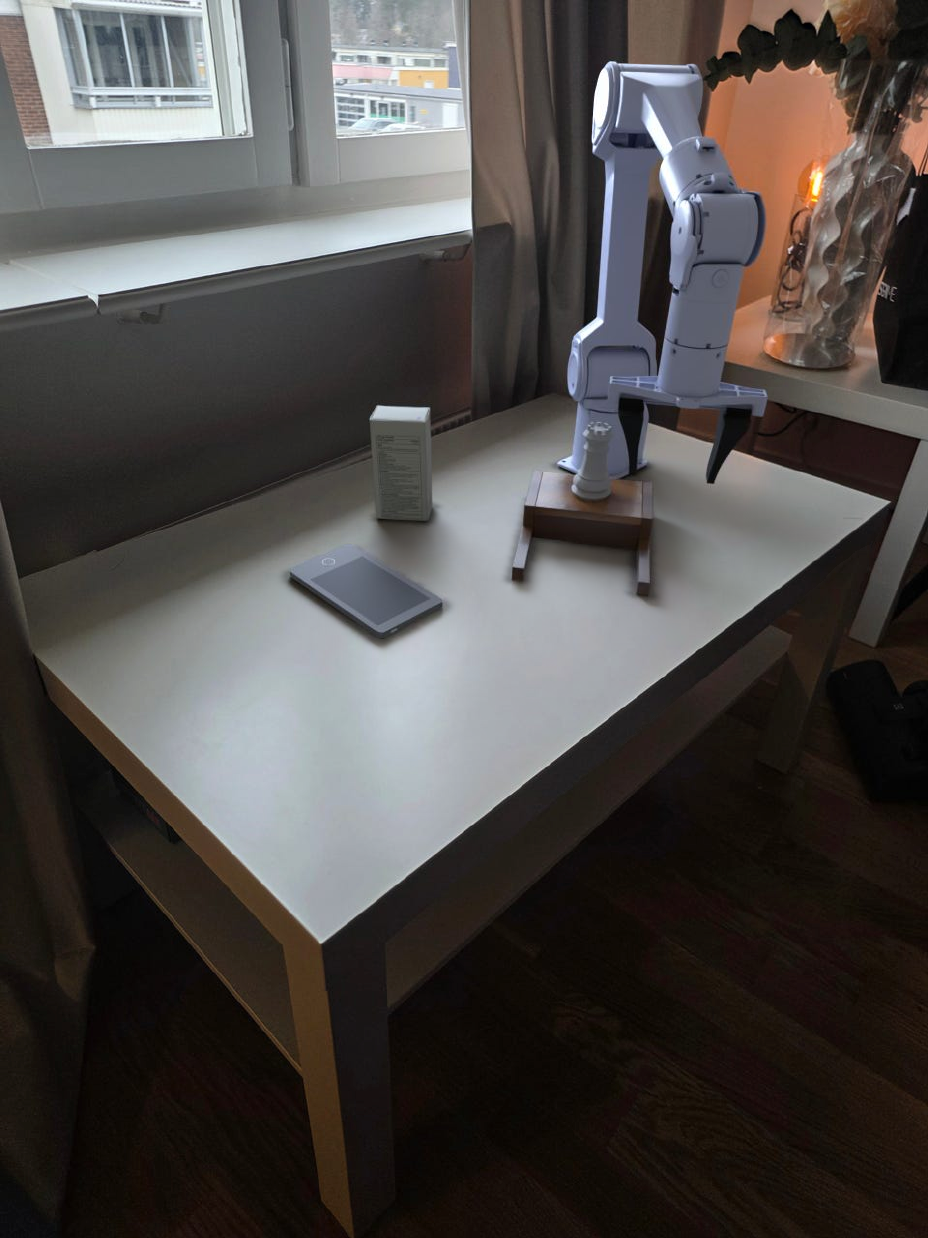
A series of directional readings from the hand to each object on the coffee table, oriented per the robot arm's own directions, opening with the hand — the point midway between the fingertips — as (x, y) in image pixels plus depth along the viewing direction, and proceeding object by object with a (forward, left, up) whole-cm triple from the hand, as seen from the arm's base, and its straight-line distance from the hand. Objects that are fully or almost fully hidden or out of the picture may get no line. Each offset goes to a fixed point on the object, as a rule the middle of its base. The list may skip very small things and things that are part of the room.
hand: (670, 475), depth 84 cm
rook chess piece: (-1, -10, -7) cm, 12 cm away
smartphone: (+26, -17, -10) cm, 33 cm away
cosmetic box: (+12, -27, -11) cm, 31 cm away
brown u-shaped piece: (+2, -8, -10) cm, 13 cm away
